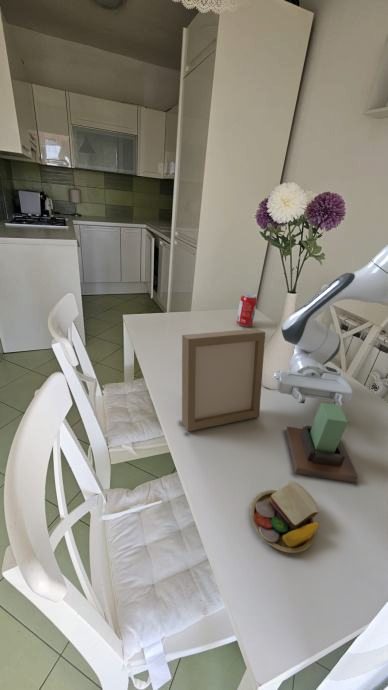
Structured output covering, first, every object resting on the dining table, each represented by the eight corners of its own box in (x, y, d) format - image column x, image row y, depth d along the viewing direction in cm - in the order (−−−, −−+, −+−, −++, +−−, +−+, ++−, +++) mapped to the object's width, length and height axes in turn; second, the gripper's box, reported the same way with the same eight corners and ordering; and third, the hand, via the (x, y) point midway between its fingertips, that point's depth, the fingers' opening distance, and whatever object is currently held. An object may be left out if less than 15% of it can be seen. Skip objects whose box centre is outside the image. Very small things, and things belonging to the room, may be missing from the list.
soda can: (232, 323, 149) (237, 293, 142) (243, 319, 154) (248, 291, 147) (245, 328, 144) (251, 298, 137) (255, 325, 149) (261, 296, 142)
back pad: (324, 441, 79) (339, 405, 73) (331, 459, 74) (348, 421, 68) (307, 439, 79) (320, 402, 74) (312, 457, 74) (327, 418, 68)
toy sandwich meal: (237, 503, 63) (241, 488, 61) (290, 486, 68) (295, 471, 66) (273, 566, 53) (279, 551, 51) (331, 540, 58) (339, 525, 56)
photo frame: (258, 419, 87) (277, 341, 76) (187, 434, 79) (197, 350, 68) (234, 389, 99) (247, 318, 88) (170, 399, 91) (176, 323, 80)
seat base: (336, 439, 83) (342, 425, 81) (355, 482, 71) (363, 467, 68) (285, 431, 84) (289, 417, 81) (295, 473, 71) (300, 458, 69)
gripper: (275, 361, 91) (283, 388, 78) (345, 371, 90) (363, 399, 78) (271, 379, 94) (277, 407, 81) (338, 388, 93) (355, 418, 81)
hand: (320, 403), depth 79 cm, fingers open, 8 cm apart
